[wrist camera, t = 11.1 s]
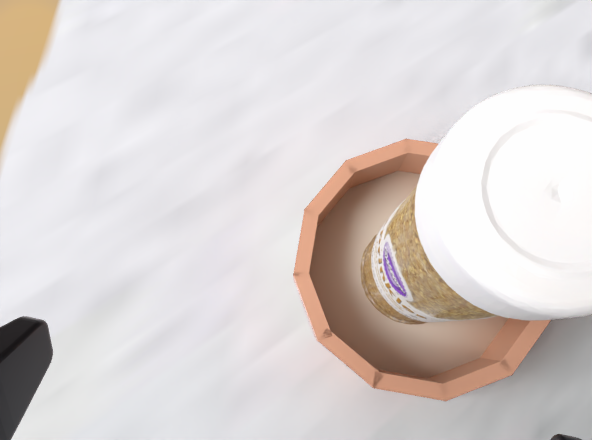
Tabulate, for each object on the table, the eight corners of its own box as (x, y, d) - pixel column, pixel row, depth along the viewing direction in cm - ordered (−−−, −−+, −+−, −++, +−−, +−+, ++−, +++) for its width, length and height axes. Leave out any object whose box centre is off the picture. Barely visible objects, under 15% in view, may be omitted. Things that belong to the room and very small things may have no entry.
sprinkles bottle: (339, 261, 22) (385, 159, 9) (420, 205, 23) (573, 32, 10) (400, 347, 21) (549, 372, 8) (483, 287, 22) (746, 221, 9)
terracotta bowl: (514, 407, 21) (547, 419, 18) (280, 365, 22) (276, 371, 19) (529, 182, 24) (561, 161, 21) (317, 150, 24) (318, 125, 21)
